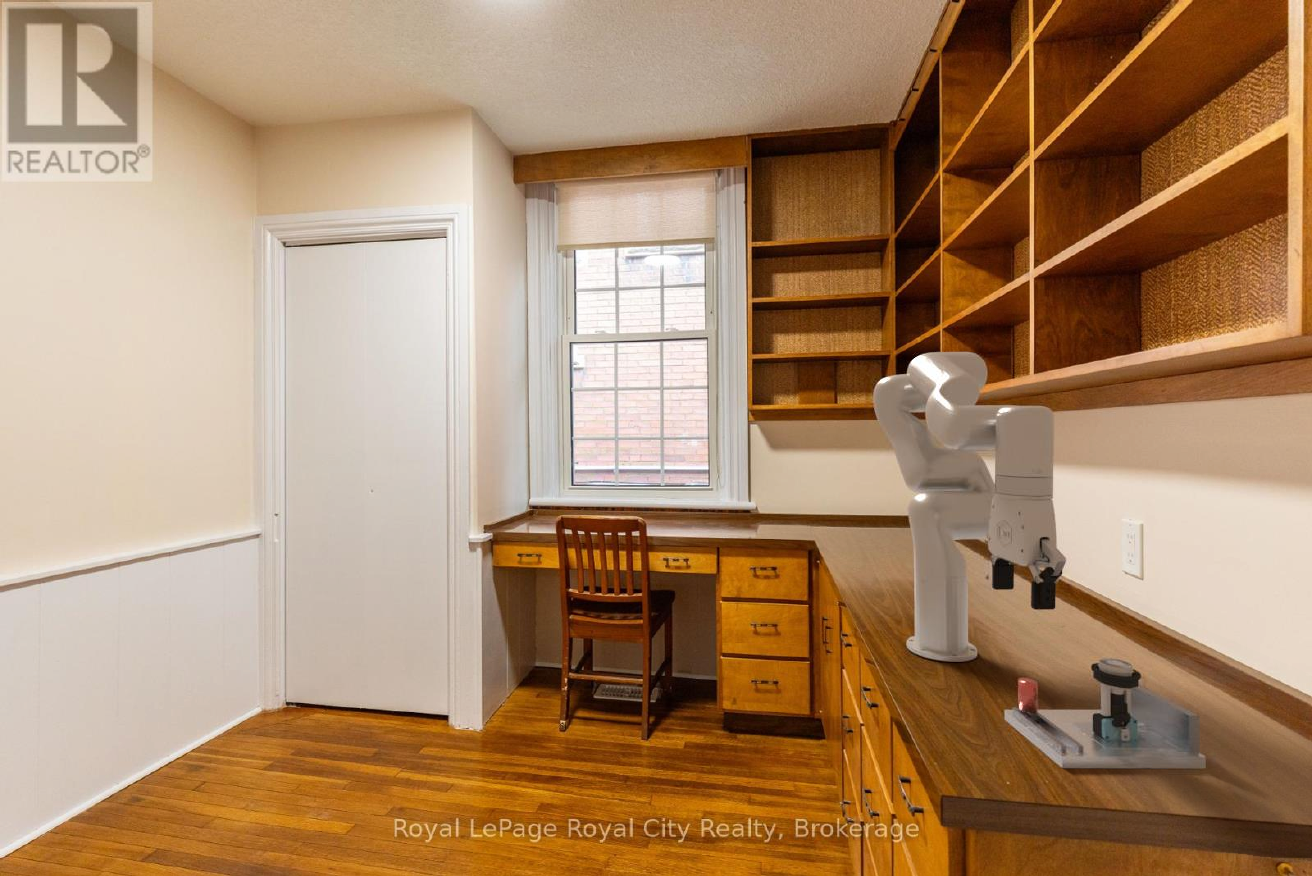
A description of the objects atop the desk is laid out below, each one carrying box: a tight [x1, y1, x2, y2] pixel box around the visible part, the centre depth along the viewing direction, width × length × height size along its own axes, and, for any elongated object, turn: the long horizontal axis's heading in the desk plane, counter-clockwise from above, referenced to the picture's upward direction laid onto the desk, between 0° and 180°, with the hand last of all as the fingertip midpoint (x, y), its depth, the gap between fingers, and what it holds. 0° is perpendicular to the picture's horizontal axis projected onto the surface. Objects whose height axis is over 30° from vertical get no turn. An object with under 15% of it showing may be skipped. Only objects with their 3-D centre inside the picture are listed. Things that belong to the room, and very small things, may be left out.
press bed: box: [1004, 684, 1207, 770], centre depth 82 cm, size 13×18×6 cm
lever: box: [1017, 677, 1039, 720], centre depth 86 cm, size 3×2×5 cm
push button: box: [1090, 657, 1145, 741], centre depth 80 cm, size 7×5×10 cm
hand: (1021, 598), depth 90 cm, fingers open, 9 cm apart
